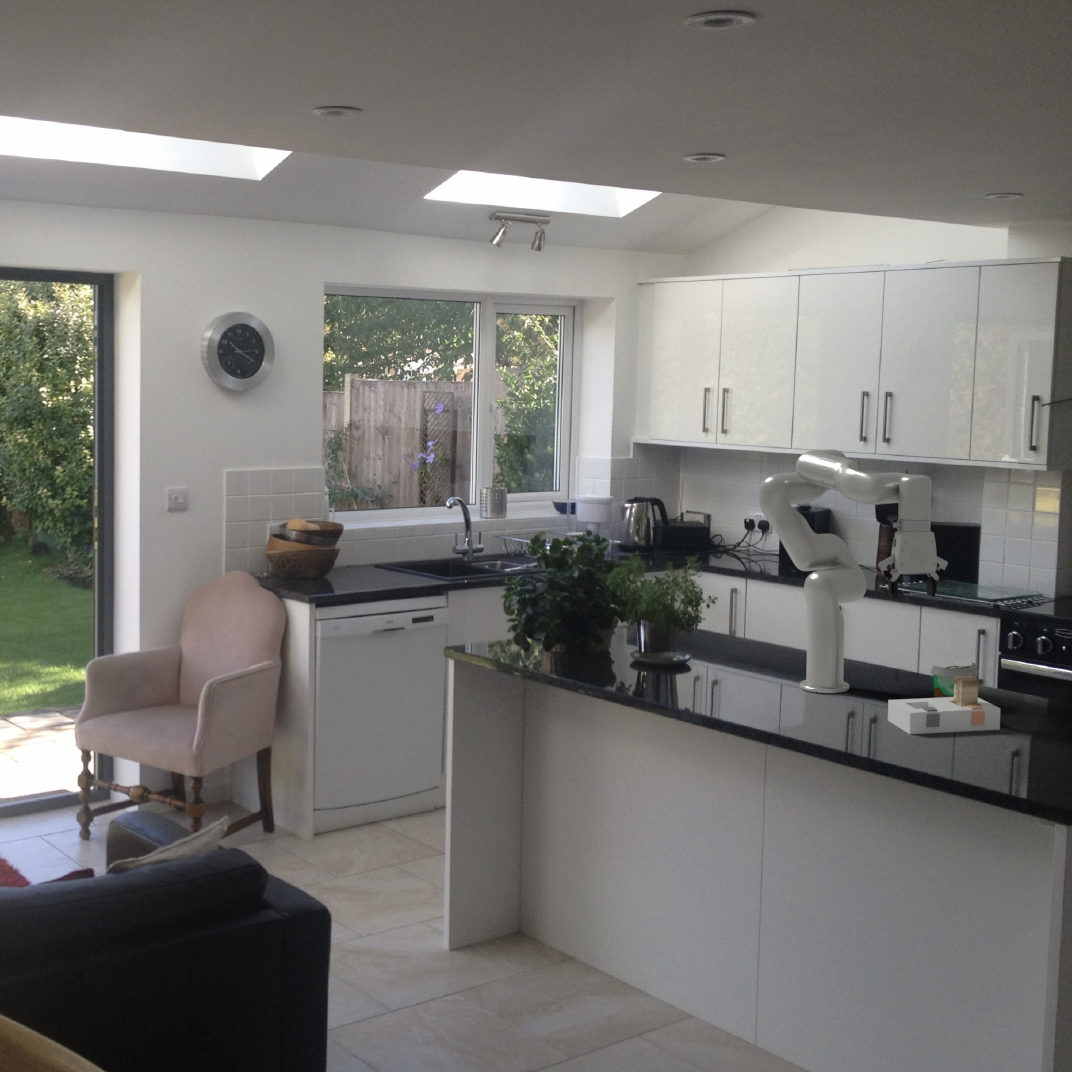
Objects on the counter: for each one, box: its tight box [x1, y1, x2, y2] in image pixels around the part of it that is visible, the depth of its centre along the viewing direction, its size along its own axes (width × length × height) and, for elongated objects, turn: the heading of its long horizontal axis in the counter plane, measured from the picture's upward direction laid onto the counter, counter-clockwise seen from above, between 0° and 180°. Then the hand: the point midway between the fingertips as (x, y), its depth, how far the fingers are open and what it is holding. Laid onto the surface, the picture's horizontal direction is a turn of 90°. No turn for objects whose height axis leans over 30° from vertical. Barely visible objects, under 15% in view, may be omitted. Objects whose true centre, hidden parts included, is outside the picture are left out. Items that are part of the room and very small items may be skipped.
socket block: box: [887, 697, 1001, 735], centre depth 298 cm, size 12×22×5 cm, turn 99°
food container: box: [930, 662, 979, 698], centre depth 316 cm, size 12×6×10 cm, turn 105°
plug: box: [954, 676, 980, 707], centre depth 299 cm, size 4×4×10 cm
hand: (912, 596), depth 309 cm, fingers open, 9 cm apart
